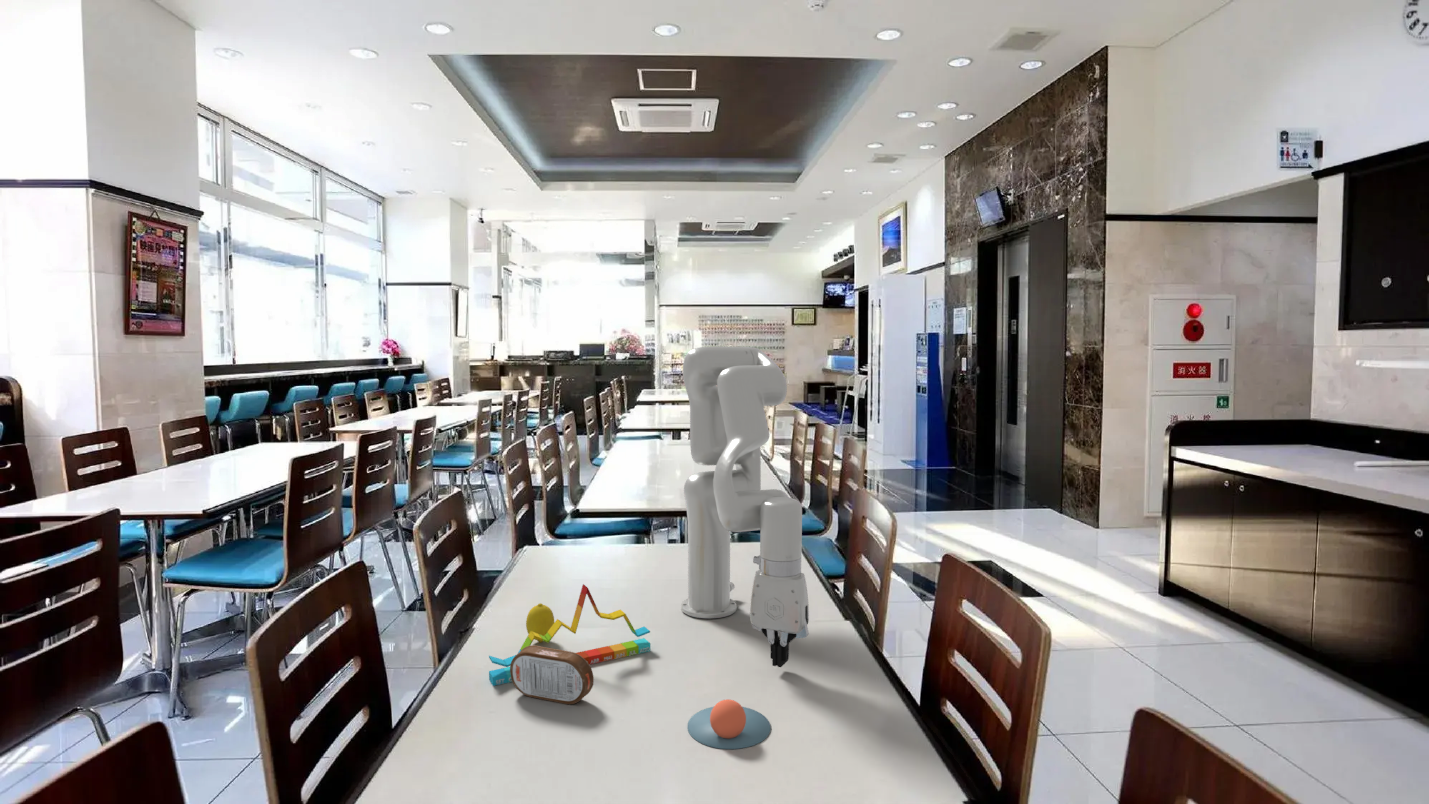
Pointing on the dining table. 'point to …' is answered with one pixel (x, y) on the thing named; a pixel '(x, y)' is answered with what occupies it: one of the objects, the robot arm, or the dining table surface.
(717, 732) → the ball
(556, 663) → the tin
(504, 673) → the chart
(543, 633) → the lemon
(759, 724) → the disc
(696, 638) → the dining table surface
